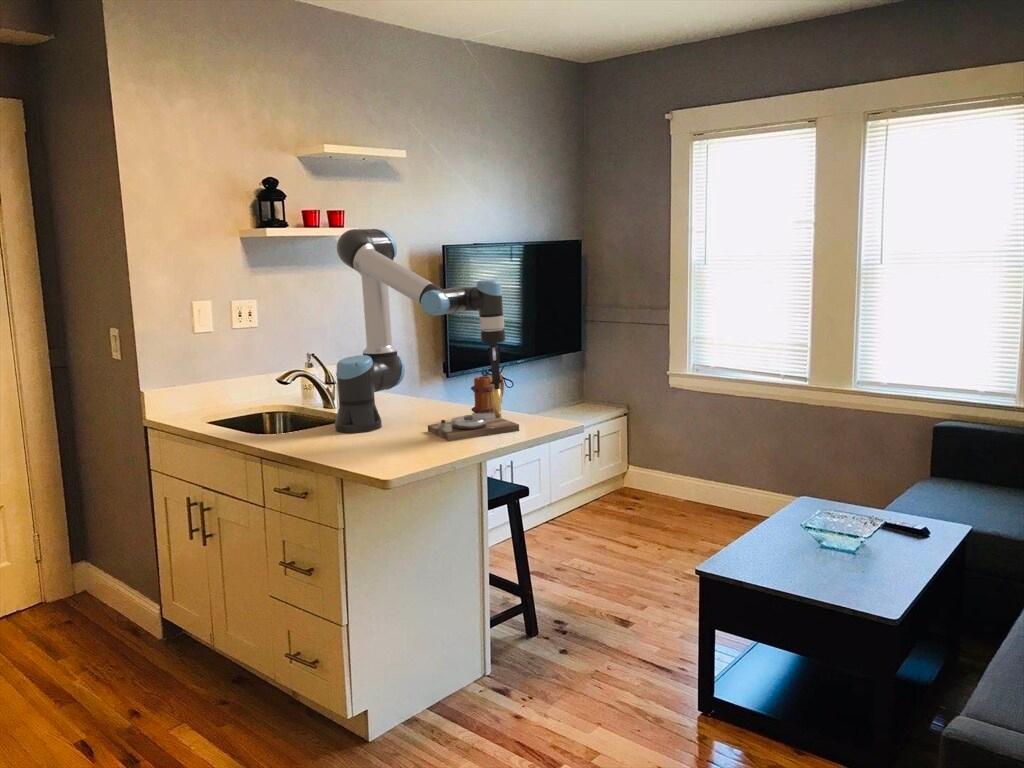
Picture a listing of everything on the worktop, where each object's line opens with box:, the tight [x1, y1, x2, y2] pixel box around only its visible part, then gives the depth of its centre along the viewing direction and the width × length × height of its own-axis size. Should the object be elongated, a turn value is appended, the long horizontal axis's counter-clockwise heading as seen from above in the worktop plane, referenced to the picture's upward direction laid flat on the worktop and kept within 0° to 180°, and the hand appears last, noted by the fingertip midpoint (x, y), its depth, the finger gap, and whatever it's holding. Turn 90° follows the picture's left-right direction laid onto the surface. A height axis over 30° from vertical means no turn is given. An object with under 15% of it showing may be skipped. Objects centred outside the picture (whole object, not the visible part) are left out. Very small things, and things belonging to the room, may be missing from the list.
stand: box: [427, 417, 520, 442], centre depth 262 cm, size 17×24×5 cm
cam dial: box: [450, 389, 502, 429], centre depth 259 cm, size 16×11×11 cm
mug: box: [470, 373, 505, 413], centre depth 282 cm, size 15×8×15 cm, turn 143°
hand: (498, 403), depth 263 cm, fingers closed
